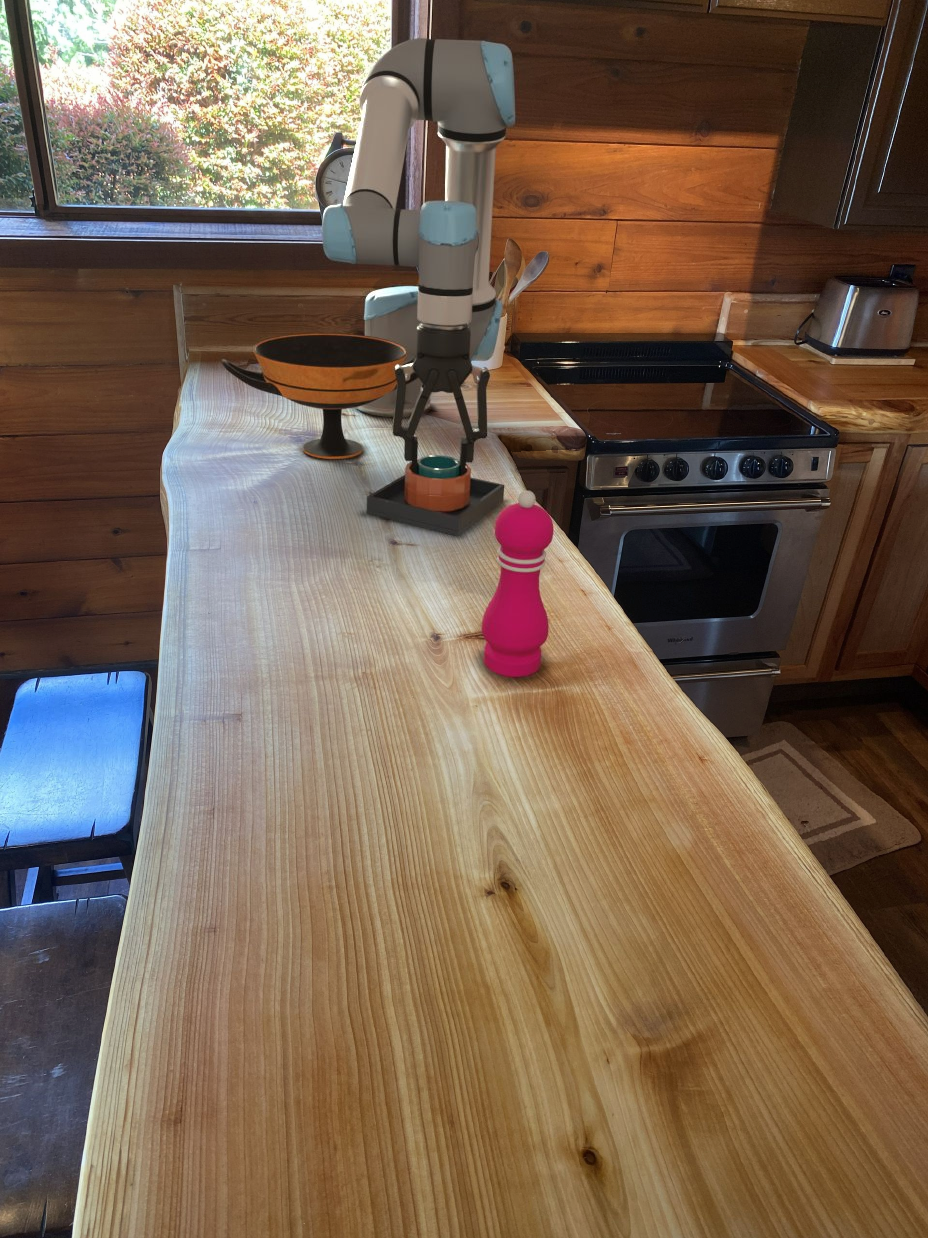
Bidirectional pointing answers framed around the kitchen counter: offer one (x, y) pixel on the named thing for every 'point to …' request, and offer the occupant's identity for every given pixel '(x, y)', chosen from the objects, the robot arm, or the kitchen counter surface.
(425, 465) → the bowl small
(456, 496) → the bowl large
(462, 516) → the tray
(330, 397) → the cup
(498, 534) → the pepper mill
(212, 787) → the kitchen counter surface
